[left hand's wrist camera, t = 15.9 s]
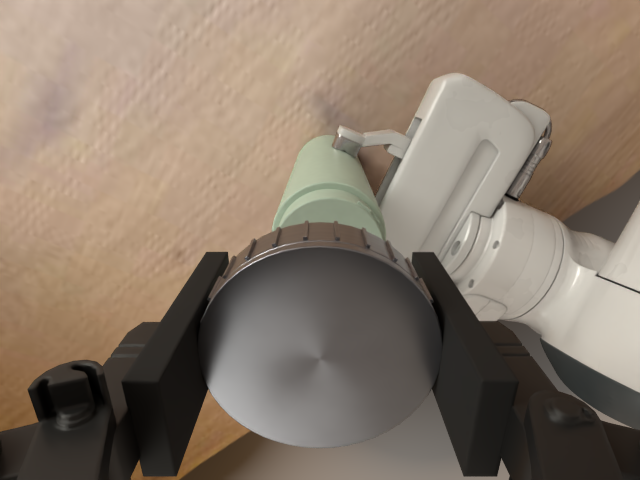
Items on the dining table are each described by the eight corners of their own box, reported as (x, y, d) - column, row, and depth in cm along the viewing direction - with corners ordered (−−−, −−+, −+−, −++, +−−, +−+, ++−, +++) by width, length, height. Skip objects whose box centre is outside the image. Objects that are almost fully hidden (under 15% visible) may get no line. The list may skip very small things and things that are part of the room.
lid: (453, 234, 11) (475, 261, 10) (403, 414, 14) (414, 460, 12) (215, 204, 11) (196, 226, 9) (208, 394, 13) (192, 439, 12)
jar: (333, 209, 36) (339, 324, 19) (283, 173, 35) (243, 261, 18) (372, 161, 34) (417, 240, 17) (321, 121, 33) (316, 163, 16)
